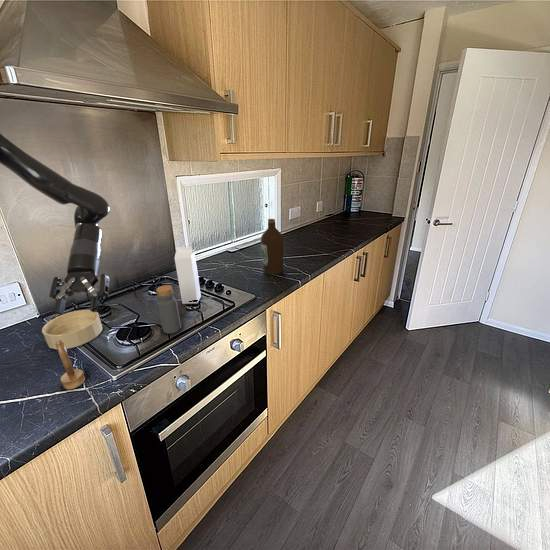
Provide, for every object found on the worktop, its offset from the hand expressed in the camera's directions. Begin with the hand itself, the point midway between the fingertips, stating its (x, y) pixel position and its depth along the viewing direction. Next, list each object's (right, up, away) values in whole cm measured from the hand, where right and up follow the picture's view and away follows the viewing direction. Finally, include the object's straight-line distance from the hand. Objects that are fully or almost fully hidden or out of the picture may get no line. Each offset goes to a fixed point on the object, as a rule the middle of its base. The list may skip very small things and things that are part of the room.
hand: (76, 312), depth 79 cm
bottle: (+19, -8, +19) cm, 28 cm away
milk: (+21, 0, +37) cm, 42 cm away
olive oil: (+53, +12, +62) cm, 82 cm away
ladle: (+2, -18, -3) cm, 18 cm away
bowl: (-11, -10, +16) cm, 22 cm away
